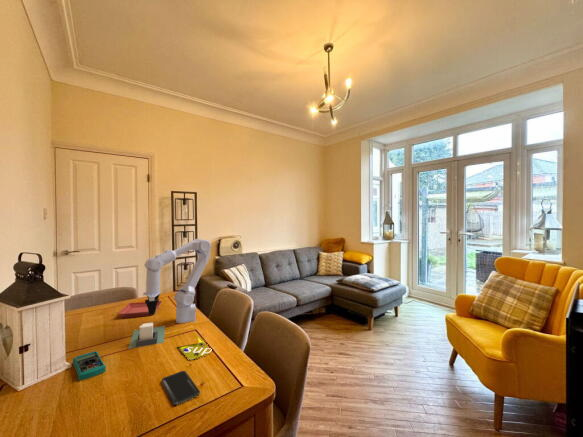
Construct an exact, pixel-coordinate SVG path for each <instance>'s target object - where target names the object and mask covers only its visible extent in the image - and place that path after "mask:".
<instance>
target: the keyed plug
mask: <svg viewBox="0 0 583 437" xmlns="http://www.w3.org/2000/svg"><path fill="white" fill-rule="evenodd" d="M153 328H154V322H147V323H142V325H141V324H140V326H139V330H140V336H139V339H140V340H146V339H152V338H153Z"/></svg>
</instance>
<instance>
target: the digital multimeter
mask: <svg viewBox="0 0 583 437" xmlns="http://www.w3.org/2000/svg"><path fill="white" fill-rule="evenodd" d="M73 364H74V365H73ZM72 365H73V367H74V366H75V367H74V369H75V368H76V369H75V372H76V373H77V378H78V381H83V379H84V380H88V379H90V378H94V377H96V376H98V375H101V374H104V373H105V372H106V369H107V368H106V367H107V366H106V364H105V363H104V361H103V360H102V358H101V357H100V354H99V353H98V351H96V350H94V351H91V352H88V353H84V354H80V355H78V356H76V357H73V358H72Z"/></svg>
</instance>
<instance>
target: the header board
mask: <svg viewBox="0 0 583 437" xmlns="http://www.w3.org/2000/svg"><path fill="white" fill-rule="evenodd" d="M165 330H166V325H161V326H155V327H154V326H153V338H152V339H146V340H140V339H139V336H140V329H135V330H133V333H132V336H131V338H130V341H129V345H128V349H134V348H140V347H141V348H142V347H146V346H151V345H152V346H153V345H159V344H164V343H165V337H166V336H165Z"/></svg>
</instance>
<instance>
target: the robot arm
mask: <svg viewBox="0 0 583 437" xmlns="http://www.w3.org/2000/svg"><path fill="white" fill-rule="evenodd" d="M211 249H212V245H211V242H210V241H209V240H207V239H201V238H195V239H194V240H190V241H189V242H187V243H185V244H183V245H182V246H179V247H178V248H176V249H174V250H172V249H166V250H164V252H163V253H160V254H156V255H155V256H154V257H149V258H147V260H146V261H145V263H144V267H145V269H146V281H145V283H146V284H145V285H146V286H145V287H146V288H145V292H143V294H142V295H143V296H146V297H147V299H144V302H145V303H146V305H147V307H148V312H149V315H152V316H155V314H156V312H155V310H156V306H157V303H158V301H160V298H159V297H160V295H161V269H162V268H163V267H164V266H166V265H169V263H172V262H174V261H176V259H177V257H179V256H181V255H182V254H185V253H188V252H189V251H194V252H195V253H196V255H197V259H196V261H195V263H194V266H193V268H192V270H191V272H190V274H189V276H188V277H187V279H186V281H185V283H184V285H181V287H180V288H179V290H178V291H176V292H175V294H174V297H173V298H174V299H173V300H174V301H175V302H176V305H175V307H176V308H175V322H176V323H178V324H185V323H188V322H189V323H190V322H193V323H196V318H197V315H196V303H194V300H195V296H196V290H195V289H196V287H197V284H198V283H199V280H200V278H201V277H202V274H203V272H204V270H205V268H206V266H207V264H208V262H209V260H210V257H211Z"/></svg>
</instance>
